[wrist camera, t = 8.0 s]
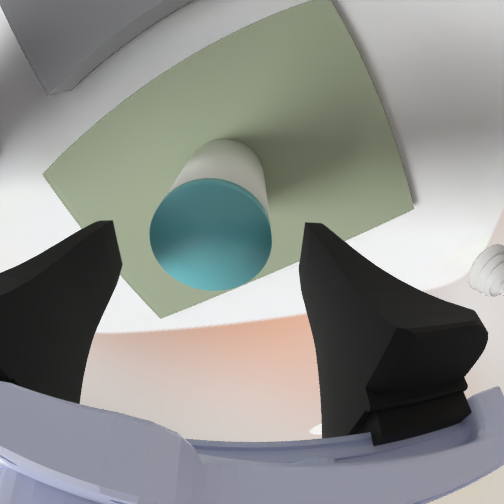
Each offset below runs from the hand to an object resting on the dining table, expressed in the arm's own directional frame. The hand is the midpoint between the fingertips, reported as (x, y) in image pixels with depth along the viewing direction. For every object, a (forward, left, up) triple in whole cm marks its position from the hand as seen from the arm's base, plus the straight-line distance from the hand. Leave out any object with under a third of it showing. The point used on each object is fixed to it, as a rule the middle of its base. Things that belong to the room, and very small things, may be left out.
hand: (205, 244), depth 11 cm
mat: (0, 0, -7) cm, 7 cm away
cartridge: (0, 0, -7) cm, 7 cm away
